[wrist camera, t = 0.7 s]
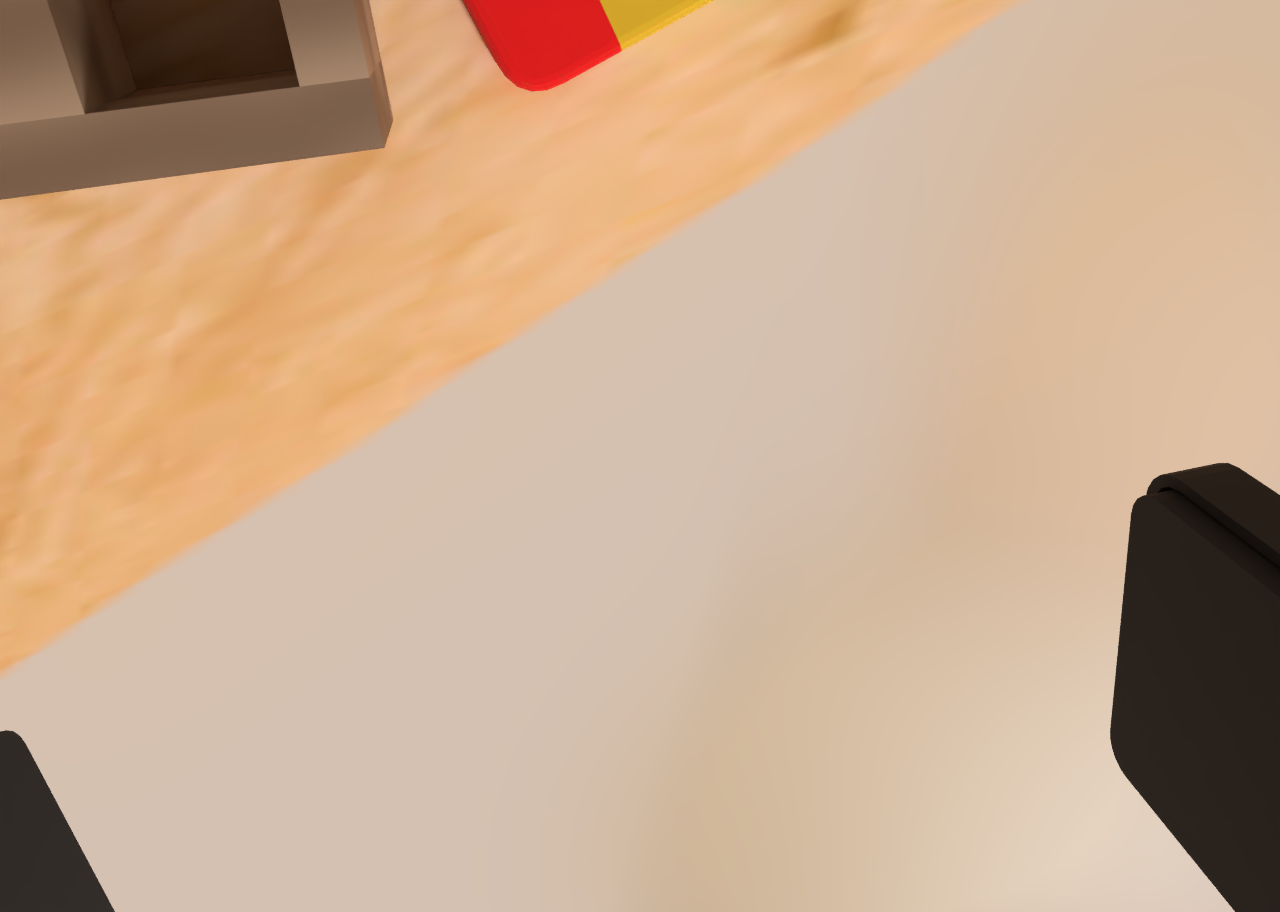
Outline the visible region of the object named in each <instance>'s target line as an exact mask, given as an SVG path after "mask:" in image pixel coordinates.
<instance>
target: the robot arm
mask: <svg viewBox="0 0 1280 912" xmlns="http://www.w3.org/2000/svg"><path fill="white" fill-rule="evenodd" d="M1110 739H1111V744H1112V749H1113V752H1114V755H1115V758H1116V760H1117V762H1118V764H1119V766H1120V768H1121V770H1122V771H1123V773H1124V774H1125V776H1126V777H1127V779H1128V780H1129V781H1130V782H1131V784H1132V785H1133V786H1134V787H1135V788H1136V790H1137V791H1138V792H1139V793H1140V795H1141V796H1142V797H1143V798H1144V800H1145V801H1146V802H1147V803H1148V805H1149V806H1150V807H1151V808H1152V809H1153V811H1154V812H1155V813H1156V814H1157V815H1158V817H1159V818H1160V819H1161V821H1162V822H1163V823H1164V824H1165V826H1166V827H1167V828H1168V829H1169V830H1170V832H1171V833H1172V834H1173V835H1174V837H1175V838H1176V839H1177V840H1178V842H1179V843H1180V844H1181V845H1182V846H1183V848H1184V849H1185V850H1186V851H1187V853H1188V854H1189V855H1190V856H1191V857H1192V859H1193V860H1194V861H1195V863H1196V864H1197V865H1198V866H1199V867H1200V869H1201V870H1202V871H1203V872H1204V874H1205V875H1206V876H1207V877H1208V879H1209V880H1210V881H1211V882H1212V884H1213V885H1214V886H1215V887H1216V889H1217V890H1218V891H1219V892H1220V893H1221V895H1222V896H1223V897H1224V898H1225V900H1226V901H1227V902H1228V903H1229V905H1230V906H1231V907H1232V908H1233V910H1234V911H1235V912H1280V495H1279V494H1277V493H1276V492H1274V491H1273V490H1271V489H1270V488H1268V487H1267V486H1265V485H1264V484H1262V483H1261V482H1259V481H1258V480H1256V479H1255V478H1253V477H1252V476H1250V475H1249V474H1247V473H1246V472H1244V471H1243V470H1241V469H1240V468H1238V467H1236V466H1233V465H1231V464H1229V463H1217V464H1212V465H1207V466H1202V467H1197V468H1192V469H1188V470H1183V471H1178V472H1173V473H1168V474H1163V475H1160V476H1158V477H1157V478H1155V479H1153V481H1152V482H1151V484H1150V486H1149V487H1148V490H1147V495H1145V496H1142V497H1140V498H1138V499H1137V500H1136V502H1135V503H1134V505H1133V509H1132V513H1131V521H1130V532H1129V543H1128V553H1127V563H1126V573H1125V584H1124V594H1123V604H1122V614H1121V625H1120V635H1119V646H1118V656H1117V666H1116V677H1115V687H1114V697H1113V708H1112V718H1111V728H1110ZM0 912H115V911H114V909H113V908H112V906H111V904H110V902H109V900H108V898H107V896H106V894H105V893H104V891H103V889H102V887H101V885H100V883H99V881H98V879H97V877H96V876H95V874H94V872H93V870H92V868H91V866H90V864H89V862H88V860H87V859H86V857H85V855H84V853H83V851H82V849H81V847H80V845H79V844H78V842H77V840H76V838H75V836H74V834H73V832H72V830H71V828H70V827H69V825H68V823H67V821H66V819H65V817H64V815H63V813H62V812H61V810H60V808H59V806H58V804H57V802H56V800H55V798H54V796H53V795H52V793H51V791H50V789H49V787H48V785H47V783H46V781H45V780H44V778H43V776H42V774H41V772H40V770H39V768H38V766H37V765H36V762H35V761H34V759H33V757H32V755H31V753H30V751H29V749H28V747H27V746H26V744H25V742H24V741H23V740H22V738H21V737H20V736H19V735H18V734H16V733H15V732H13V731H7V730H6V731H1V732H0Z"/></svg>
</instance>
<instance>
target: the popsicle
mask: <svg viewBox="0 0 1280 912" xmlns="http://www.w3.org/2000/svg"><path fill="white" fill-rule="evenodd" d="M467 1H468V2H467ZM711 1H713V0H463V2H464V4H465V6H466V7H467V9H468V11H469V13H470V15H471V17H472V19H473V21H474V23H475V24H476V26H477V28H478V30H479V32H480V34H481V36H482V38H483V39H484V41H485V43H486V45H487V47H488V49H489V51H490V53H491V54H492V56H493V58H494V60H495V62H496V63H497V65H498V66H499V68H500V69H501V71H502V72H503V74H504V75H505V77H507V78H508V79H509V80H510V81H511V82H513V83H514V84H515V85H516V86H517V87H520V88H523V89H526V90H529V91H543V90H548V89H551V88H553V87H556V86H558V85H561V84H563V83H565V82H567V81H568V80H570V79H572V78H574V77H576V76H577V75H579V74H581V73H583V72H585V71H586V70H588V69H590V68H592V67H594V66H596V65H597V64H599V63H601V62H603V61H605V60H606V59H608V58H610V57H612V56H614V55H615V54H617V53H619V52H621V51H623V50H624V49H626V48H628V47H630V46H632V45H633V44H635V43H637V42H639V41H641V40H642V39H644V38H646V37H648V36H650V35H651V34H653V33H655V32H657V31H659V30H660V29H662V28H664V27H666V26H668V25H669V24H671V23H673V22H675V21H677V20H679V19H680V18H682V17H684V16H686V15H688V14H689V13H691V12H693V11H695V10H697V9H698V8H700V7H702V6H704V5H706V4H707V3H709V2H711ZM476 18H477V19H476ZM485 35H486V36H485Z"/></svg>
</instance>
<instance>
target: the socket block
mask: <svg viewBox="0 0 1280 912" xmlns="http://www.w3.org/2000/svg"><path fill="white" fill-rule="evenodd" d="M279 2H280V7H281V11H282V15H283V19H284V23H285V27H286V32H287V36H288V40H289V44H290V48H291V52H292V57H293V61H294V65H295V69H296V70H288V71H280V72H273V73H265V74H257V75H249V76H241V77H233V78H225V79H217V80H209V81H201V82H193V83H185V84H178V85H170V86H162V87H154V88H146V89H138V90H137V89H136V85H135V82H134V79H133V76H132V72H131V69H130V66H129V63H128V59H127V56H126V53H125V50H124V46H123V43H122V40H121V37H120V33H119V30H118V27H117V24H116V20H115V17H114V14H113V11H112V7H111V4H110V1H109V0H0V200H1V199H8V198H16V197H23V196H31V195H38V194H46V193H53V192H60V191H68V190H75V189H83V188H90V187H98V186H105V185H112V184H120V183H127V182H135V181H142V180H150V179H157V178H164V177H172V176H179V175H187V174H194V173H202V172H209V171H216V170H224V169H231V168H239V167H246V166H254V165H261V164H268V163H276V162H283V161H291V160H298V159H306V158H313V157H320V156H328V155H335V154H343V153H350V152H358V151H365V150H372V149H380V148H384V147H385V144H386V141H387V138H388V135H389V132H390V128H391V125H392V122H393V117H392V112H391V107H390V102H389V97H388V92H387V87H386V82H385V77H384V72H383V67H382V63H381V58H380V53H379V48H378V43H377V38H376V33H375V28H374V23H373V18H372V13H371V8H370V4H369V0H279Z"/></svg>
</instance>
